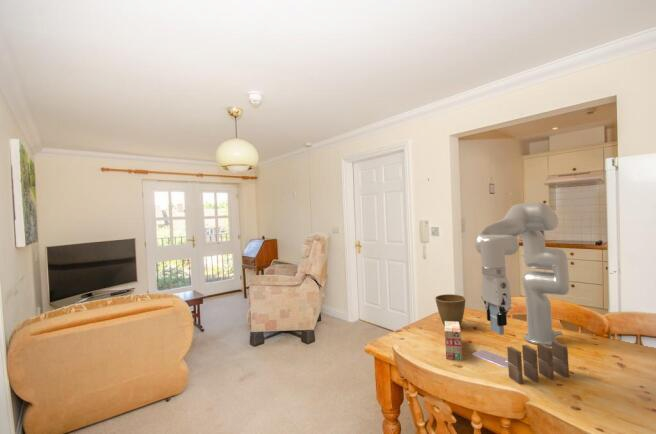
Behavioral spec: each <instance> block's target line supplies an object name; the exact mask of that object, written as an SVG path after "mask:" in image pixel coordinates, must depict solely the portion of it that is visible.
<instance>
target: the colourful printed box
mask: <svg viewBox="0 0 656 434" xmlns="http://www.w3.org/2000/svg"><path fill="white" fill-rule="evenodd" d="M444 322H445V327H444V339H445V357H446V358H445V360H450V361H452V360H453V361H463V353H462V352H463V351H462V333H461V326H460V325H459V322H453V321H444Z"/></svg>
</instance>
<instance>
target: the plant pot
mask: <svg viewBox="0 0 656 434" xmlns="http://www.w3.org/2000/svg"><path fill="white" fill-rule="evenodd" d="M434 297H435V298H434V299H435V303H436V308H437V311H438V313H439V317H440V319H441V322H442V324H443V326H444V328H445V322H444V321H453V322H459V325H460V327H462V324H463V323H462V322H463V318H464V315H465V313H464V312H465V308H466V307H465V306H466V297H465V296H464V295H463V296H462V295H460V294H452V293H450V294H447V293H446V294H439V295H437V296H434Z"/></svg>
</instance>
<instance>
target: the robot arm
mask: <svg viewBox="0 0 656 434" xmlns="http://www.w3.org/2000/svg"><path fill="white" fill-rule="evenodd" d="M558 225H559V218H558V215H557V213H556V211H554V210H553V209H552V208H551V207H550V206H549V205H548V204H546V203H545V202H544V203H543V202H529V203H528V202H527V203H517V204H514V205H513V206H511V207H510V208H509V209H508V211H507V212H506V213H505V215H504V217H503V218H502V219H500V220H497V221H495V222H493V223H491V224H488V225H486V226H485V227H483V228H482V230H481V231H480V232H479V233H478V235H477V237H476V239H475V250H476V251H477V252H478V253H479V254H480V260H481V261H480V262H481V264H480V265H481V299H482V301H483V303H484V305H485V310H486V320H487V321H488V322H490V310H489V303H491V304H494V305H496V307H497V311H498V314H497V325H498V326H507V324H508V323H507V322H508V321H507V318H508V317H507V315H508V312H509V311H510V310H511V309H512V295H511V289H510V283H509V278H508V277H507V271H506V269H507V268H506V256H512V255H514V254H516V253H518V250H519V248H520V243H519V239H518V238H517V237H518V236H520V237H521V239H522V247H523V248H522V249H523V259H524V263H525V265H526V267H528V268H530V269H534V270H532V271H531V270H530V271H526V272H524V273H523V274H522V278H521V282H522V286H523V290H524V295H525V296H524V297H525V307H526V309H525V310H526V323H527V324H526V325H527V327H526V328H527V333H525V334H524V340H525V341H527V342H529V343H531V344H534V345H537V343H542V344H544V345H546V346H548V347H550V346H552V342H553V341H556V342H558V339H557V336H563V332H562V331H561V330H556V331H555V330H554V329H553V321H552V320H553V317H552V304H551V301H550V299H549V297H548V296H547V295H546V294H548V295H557V296H565V295H568V293H569V292H570V276H569V264H568V258H567V253H566V252H565V250H563V249H561V248H554V247H552V248H551V247H546V240H545V238H546V237H545V236H544V234H543V233H542V232H543V231H544V232H546V231H553V230H556V228H557V227H558ZM541 231H542V232H541ZM535 269H536V270H535ZM537 270H538V271H537ZM539 270H545V271H539ZM546 270H548V271H546ZM549 270H550V271H553V272H549ZM501 303H502V305H501ZM500 307H502V309H500Z"/></svg>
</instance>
